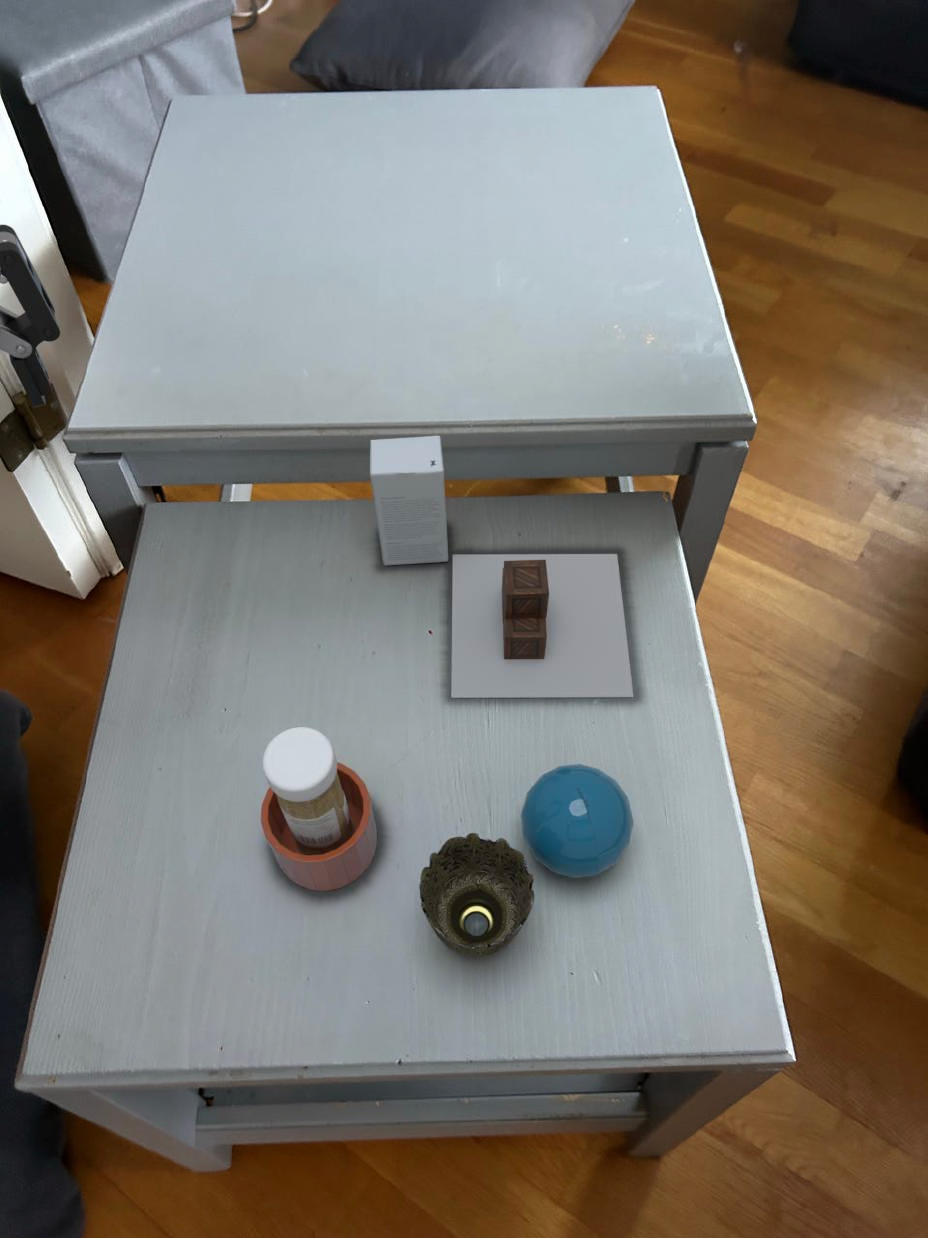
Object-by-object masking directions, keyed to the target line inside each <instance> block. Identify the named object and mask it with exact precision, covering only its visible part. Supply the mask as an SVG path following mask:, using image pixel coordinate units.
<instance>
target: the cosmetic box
mask: <svg viewBox="0 0 928 1238" xmlns="http://www.w3.org/2000/svg"><path fill="white" fill-rule="evenodd" d="M369 444H370V446H369V477H370V483H371V490H372V495H373V503H374V508H375V516H376V522H377V530H378V536H379V544H380V551H381V558H382V563H383V565H384V566H395V565H397V566H399V565H413V564H429V563H446V562H448V561H449V543H448V527H447V525H448V524H447V508H446V507H447V506H446V505H447V504H446V491H445V490H446V489H445V469H444V458H443V449H442V448H443V447H442V438H441V436H440V435H428V436H427V435H426V436H414V437H412V436H411V437H396V438H379V439H370V443H369Z"/></svg>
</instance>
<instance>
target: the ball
mask: <svg viewBox="0 0 928 1238" xmlns="http://www.w3.org/2000/svg"><path fill="white" fill-rule="evenodd" d="M520 821H521V828H522V834H523V841H524V842H525V844H526V846H527V847H528V849H529V851H530V852H531V854H532V855H533V857H534V859H535V860H536V861H537V862H539V863H540V864H541V865H543V866H544V867H546V868H547V870H549V871H551V872H552V873H553V874H557V875H560V876H564V877H568V878H571V879H578V878H588V877H589V878H590V877H595V876H598V875H600V874H601V873H603V872H605V871H606V870H609V869H610V868H612V867H614V866H615V865H616V863H617V862H618V861H619V859H620V858H622V855H624V853H625V852H626V850H627V849H628V847H629V846H630V842H631V836H632V831H633V827H634V817H633V812H632V808H631V803H630V800H629V797H628V795H627V794H626V793H625V791H624V790H623V789H622V787H621V786H620V784H619V783H618V781H617V780H616V779H614V778H613V777H611V776H610V775H608V774H607V773H606V772H604V771H603V770H602V769H600V768H597V767H593V766H589V765H585V764H581V763H578V764H577V763H576V764H566V765H565V764H564V765H559V766H557V767H555V768H553V769H552V770H549V771H548V772H546V773H544V774H541V776H539V778H538V779H537V780H536V781H535V783H534V784H533V785H532V786H531V787H530V789H529V790H528V791H527V792H526V795H525V799H524V801H523V806H522V809H521V813H520Z"/></svg>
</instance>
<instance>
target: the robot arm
mask: <svg viewBox="0 0 928 1238" xmlns="http://www.w3.org/2000/svg"><path fill="white" fill-rule="evenodd" d="M0 284H3V285H5V284H9V286H10V287H11V289H12V291H13V293H14V295H15V296H16V298H17V300H18V302H19V305H20V306H21V307H22V309H23V311H24V313H22V314H20V315H19V314H17V313H15V312H13V311H11V310H9V309H8V308H6V307H4V306H2V305H0V351H3V352H4V353H6V354H8V355H9V361H10V364H11V366H12V367H13V370H14V372H15V374H16V376H17V378H18V380H19V382H20V383H21V386H22V388H23V390H24V392H25V393H26V395H27V397H28V399H29V401H30V403H31V406H32V407H33V408H37V407H41V406H45V405H46V404H47V403H46V398H45V396H48V395H51V394H52V393H51V392H52V385H51V381H50V376H49V373H48V370H47V368H46V366H45V364H44V362H43V359H42V357H41V355H40V353H39V351H38V349H37V347H38V346H39V345H40V344H42V343H43V342H49V343H50V342H54V341H56V340H58V339H59V338H60V336H61V329H60V326H59V323H58V322H57V318H56V310H55V306H54V304H53V301H52V300H51V298H50V296H49V294H48V292H47V290H46V288H45V286H44V284H43V283H42V281H41V279H40V277H39V274H38V273H37V271H36V269H35V267H34V265H33V263H32V262H31V260H30V257H29V255H28V253H27V251H26V250H25V248H24V246H23V243H22V242H21V240H20V238H19V236H18V234H17V232H16V231H15V229H14V228H13V227H11V226H10V225H8V224H0Z"/></svg>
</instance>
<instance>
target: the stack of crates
mask: <svg viewBox="0 0 928 1238" xmlns="http://www.w3.org/2000/svg"><path fill="white" fill-rule="evenodd" d="M618 558H619V557H618V554H617V553H557V554H556V553H530V554H529V553H527V554H526V553H525V554H522V553H521V554H518V553H517V554H516V553H515V554H513V553H512V554H511V553H510V554H509V553H508V554H507V553H506V554H505V553H503V554H501V553H499V554H496V553H495V554H493V553H492V554H491V553H490V554H489V553H488V554H452V576H451V577H452V580H451V581H452V585H451V586H452V587H451V589H452V590H451V593H452V594H451V603H452V604H451V674H450V675H451V676H450V677H451V680H450V681H451V682H450V683H451V684H450V686H451V688H450V691H451V692H450V694H451V695H450V698H453V699H463V698H465V699H469V698H470V699H481V698H483V699H488V698H489V699H491V698H494V699H495V698H497V699H499V698H501V699H502V698H507V699H508V698H509V699H512V698H514V699H515V698H517V699H518V698H526V699H527V698H528V699H529V698H533V699H535V698H536V699H537V698H634V689H633V688H634V687H633V679H632V671H631V664H630V654H629V645H628V644H629V643H628V637H627V636H628V635H627V628H626V617H625V610H624V609H625V608H624V602H623V601H624V600H623V594H622V593H623V592H622V585H621V576H620V575H621V574H620V567H619V559H618Z"/></svg>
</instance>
